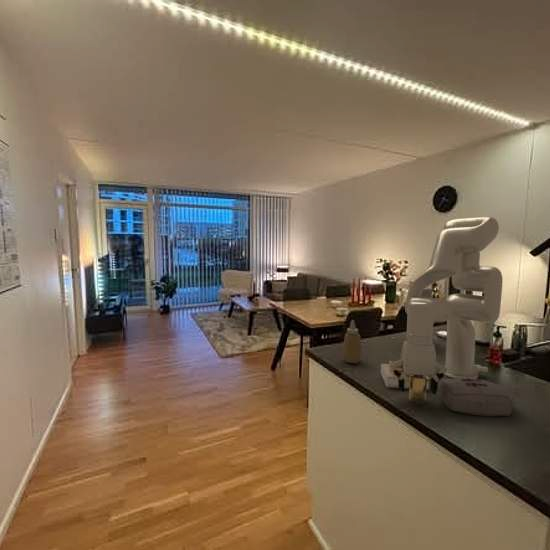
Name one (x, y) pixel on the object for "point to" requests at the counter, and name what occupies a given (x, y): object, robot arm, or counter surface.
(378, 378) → the counter surface
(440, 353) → the counter surface
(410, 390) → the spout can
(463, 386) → the grey rounded bag
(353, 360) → the squeeze bottle
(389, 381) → the orange white open box
